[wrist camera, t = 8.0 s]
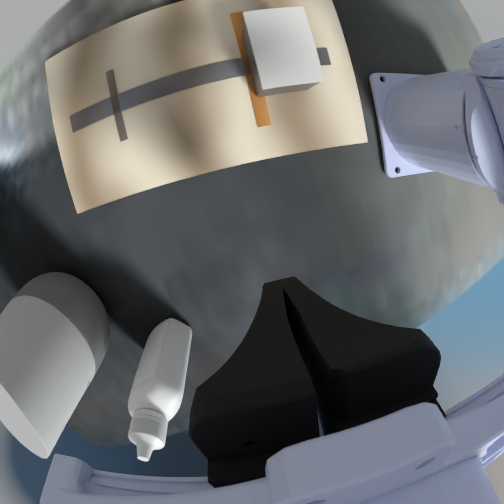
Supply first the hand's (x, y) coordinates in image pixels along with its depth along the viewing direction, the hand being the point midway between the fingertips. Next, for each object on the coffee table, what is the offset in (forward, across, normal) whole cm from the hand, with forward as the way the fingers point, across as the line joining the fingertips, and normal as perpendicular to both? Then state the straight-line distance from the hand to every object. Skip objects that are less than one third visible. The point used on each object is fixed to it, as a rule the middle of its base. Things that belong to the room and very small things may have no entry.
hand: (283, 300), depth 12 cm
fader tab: (+7, -3, -11) cm, 13 cm away
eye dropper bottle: (+10, +10, +8) cm, 16 cm away
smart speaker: (+10, +18, +3) cm, 21 cm away
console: (+9, +2, -11) cm, 15 cm away
